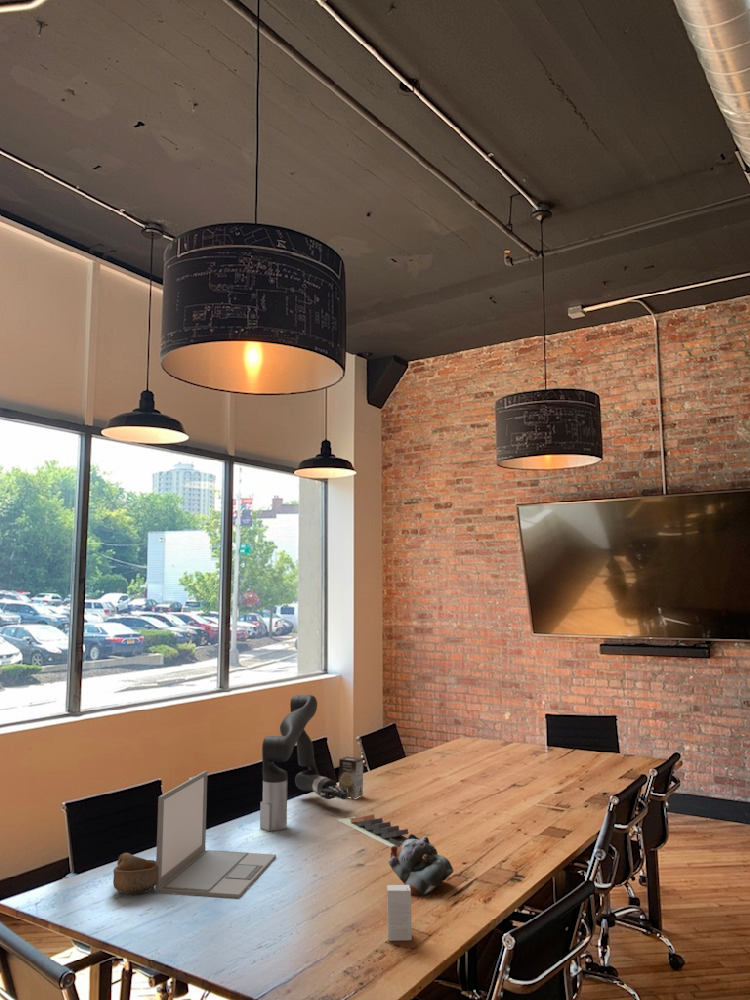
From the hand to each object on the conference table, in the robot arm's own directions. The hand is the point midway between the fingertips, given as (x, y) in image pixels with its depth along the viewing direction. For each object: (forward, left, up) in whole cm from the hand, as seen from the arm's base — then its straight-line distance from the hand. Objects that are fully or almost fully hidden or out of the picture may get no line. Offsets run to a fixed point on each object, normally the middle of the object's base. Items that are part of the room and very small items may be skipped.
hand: (344, 796), depth 298 cm
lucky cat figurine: (-29, -72, -8) cm, 78 cm away
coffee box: (+22, +22, -8) cm, 32 cm away
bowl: (-95, -16, -8) cm, 96 cm away
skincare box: (-57, -92, -8) cm, 109 cm away
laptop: (-69, -22, -8) cm, 72 cm away
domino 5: (-6, -31, -7) cm, 32 cm away
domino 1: (-2, -9, -7) cm, 11 cm away
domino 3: (-4, -20, -7) cm, 21 cm away
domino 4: (-4, -25, -7) cm, 26 cm away
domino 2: (-3, -14, -7) cm, 16 cm away
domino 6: (-6, -36, -7) cm, 37 cm away
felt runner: (-4, -21, -8) cm, 23 cm away
